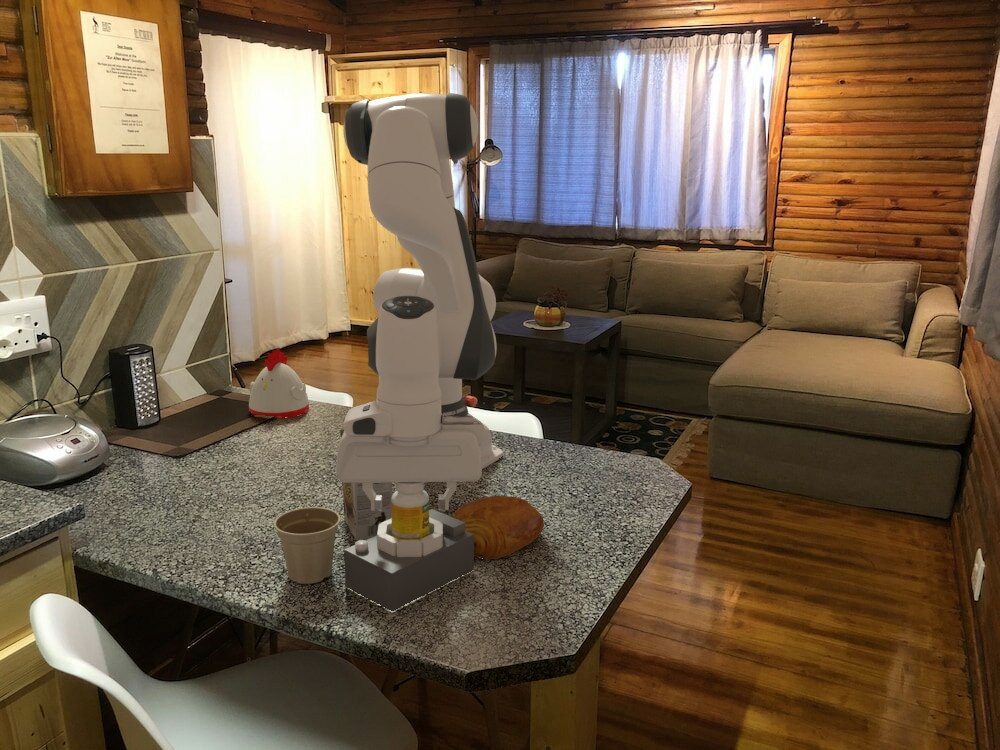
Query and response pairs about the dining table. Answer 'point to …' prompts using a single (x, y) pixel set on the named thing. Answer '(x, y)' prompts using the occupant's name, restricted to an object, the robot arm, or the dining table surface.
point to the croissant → (500, 525)
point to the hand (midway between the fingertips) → (410, 508)
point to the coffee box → (365, 508)
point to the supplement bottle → (410, 511)
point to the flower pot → (308, 542)
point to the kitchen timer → (278, 390)
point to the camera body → (409, 561)
